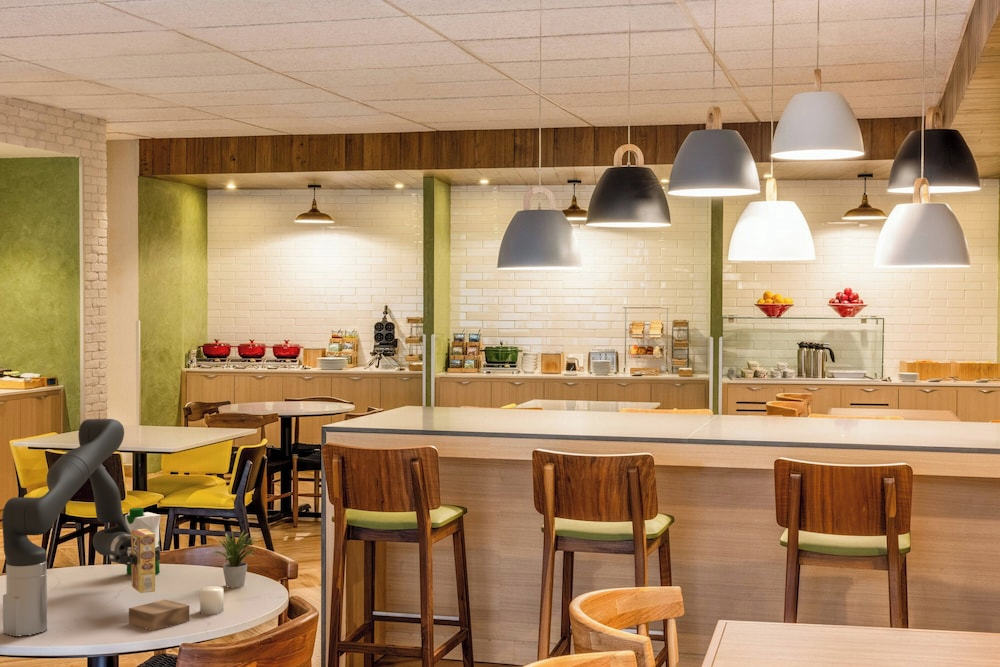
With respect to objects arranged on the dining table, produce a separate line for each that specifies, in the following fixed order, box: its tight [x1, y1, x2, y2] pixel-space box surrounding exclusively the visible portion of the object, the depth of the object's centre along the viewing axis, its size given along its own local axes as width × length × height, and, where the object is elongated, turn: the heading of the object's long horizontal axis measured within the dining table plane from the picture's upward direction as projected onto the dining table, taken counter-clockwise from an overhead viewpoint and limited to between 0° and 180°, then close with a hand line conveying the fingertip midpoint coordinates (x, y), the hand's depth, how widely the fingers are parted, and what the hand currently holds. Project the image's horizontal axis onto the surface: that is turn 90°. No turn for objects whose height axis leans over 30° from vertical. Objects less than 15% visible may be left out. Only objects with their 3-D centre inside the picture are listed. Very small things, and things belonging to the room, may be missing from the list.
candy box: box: [131, 529, 156, 594], centre depth 298 cm, size 9×4×15 cm, turn 33°
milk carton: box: [124, 507, 162, 576], centre depth 342 cm, size 9×9×20 cm
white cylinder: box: [199, 585, 225, 615], centre depth 299 cm, size 6×6×6 cm
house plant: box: [212, 529, 263, 588], centre depth 326 cm, size 14×14×16 cm
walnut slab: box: [128, 599, 190, 631], centre depth 288 cm, size 11×10×4 cm
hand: (145, 560), depth 297 cm, fingers closed on candy box, 4 cm apart
